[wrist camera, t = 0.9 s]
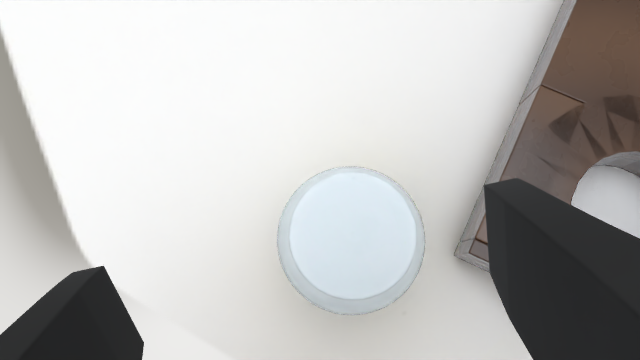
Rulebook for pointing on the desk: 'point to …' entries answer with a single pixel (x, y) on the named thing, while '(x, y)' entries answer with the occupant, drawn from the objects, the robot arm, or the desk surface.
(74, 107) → the desk surface
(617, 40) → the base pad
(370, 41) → the desk surface
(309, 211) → the supplement bottle
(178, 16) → the desk surface
